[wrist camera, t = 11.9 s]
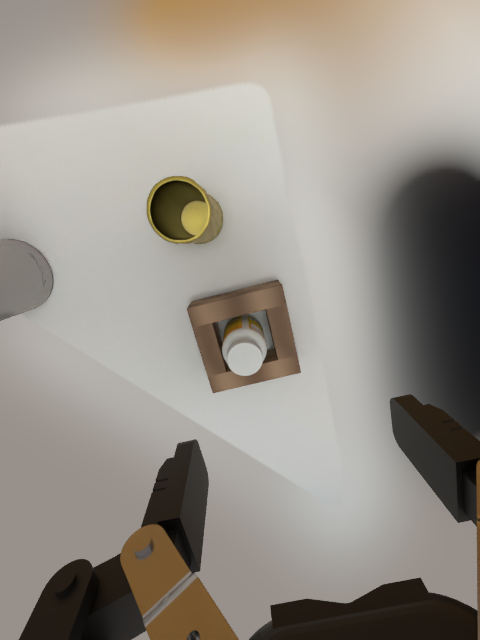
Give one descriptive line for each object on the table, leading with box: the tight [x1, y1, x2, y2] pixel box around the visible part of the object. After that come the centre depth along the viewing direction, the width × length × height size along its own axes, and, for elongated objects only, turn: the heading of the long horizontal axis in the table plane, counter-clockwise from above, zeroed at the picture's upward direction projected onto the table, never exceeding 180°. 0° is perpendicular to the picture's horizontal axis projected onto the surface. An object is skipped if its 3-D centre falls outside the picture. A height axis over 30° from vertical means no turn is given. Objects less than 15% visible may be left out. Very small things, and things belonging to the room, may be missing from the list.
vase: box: [147, 176, 223, 244], centre depth 31 cm, size 6×6×14 cm
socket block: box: [187, 280, 301, 393], centre depth 40 cm, size 12×12×4 cm
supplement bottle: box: [222, 315, 267, 376], centre depth 38 cm, size 5×5×10 cm
